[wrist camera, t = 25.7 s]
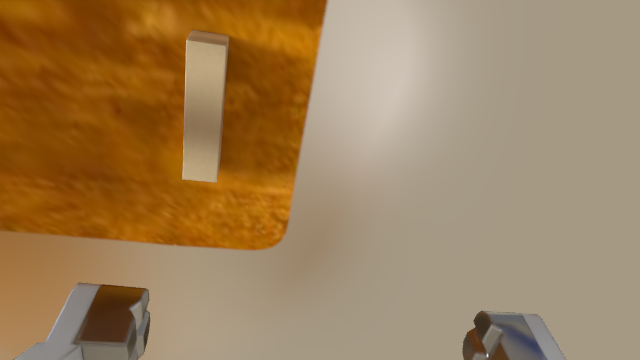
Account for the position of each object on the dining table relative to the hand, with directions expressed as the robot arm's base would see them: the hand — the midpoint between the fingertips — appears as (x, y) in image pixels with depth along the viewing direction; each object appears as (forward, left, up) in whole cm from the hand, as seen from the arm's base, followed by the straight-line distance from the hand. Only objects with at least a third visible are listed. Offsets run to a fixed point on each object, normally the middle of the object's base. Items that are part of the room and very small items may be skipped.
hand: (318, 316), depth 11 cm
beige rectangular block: (+7, +1, -23) cm, 24 cm away
